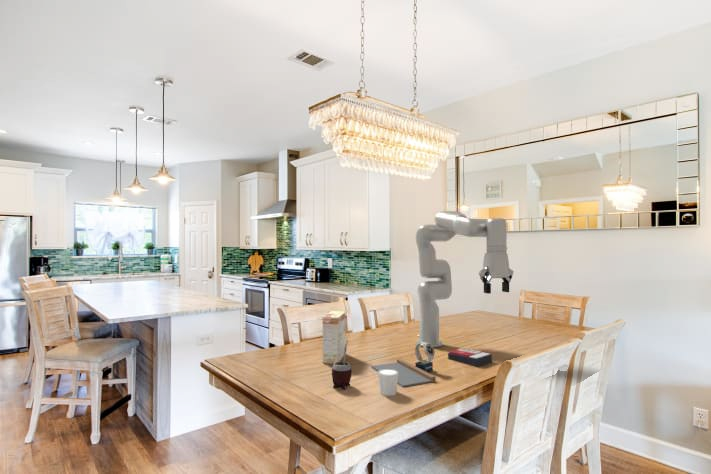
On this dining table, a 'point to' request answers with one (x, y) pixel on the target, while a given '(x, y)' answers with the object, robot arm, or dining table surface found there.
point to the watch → (429, 352)
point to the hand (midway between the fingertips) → (496, 292)
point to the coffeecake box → (333, 336)
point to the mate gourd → (341, 373)
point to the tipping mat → (407, 373)
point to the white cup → (388, 381)
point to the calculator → (470, 357)
